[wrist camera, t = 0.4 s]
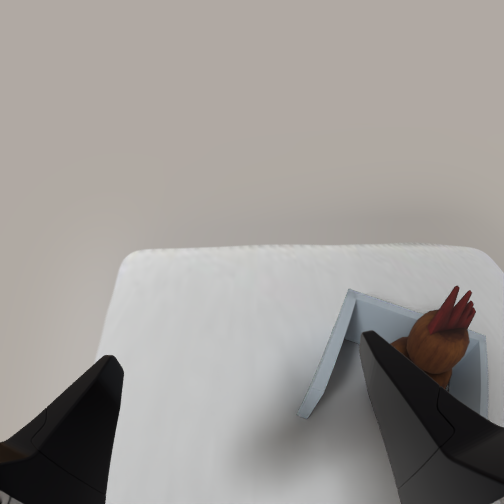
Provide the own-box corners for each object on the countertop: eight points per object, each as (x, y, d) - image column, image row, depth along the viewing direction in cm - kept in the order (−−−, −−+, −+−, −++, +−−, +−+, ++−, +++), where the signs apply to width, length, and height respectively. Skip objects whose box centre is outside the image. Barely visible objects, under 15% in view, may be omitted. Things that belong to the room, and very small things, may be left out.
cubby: (447, 456, 17) (486, 434, 13) (296, 415, 22) (310, 387, 18) (456, 367, 25) (485, 335, 21) (333, 327, 30) (348, 288, 26)
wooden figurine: (353, 415, 22) (438, 307, 13) (363, 365, 26) (429, 245, 17) (416, 427, 20) (522, 330, 11) (420, 378, 24) (502, 271, 15)
